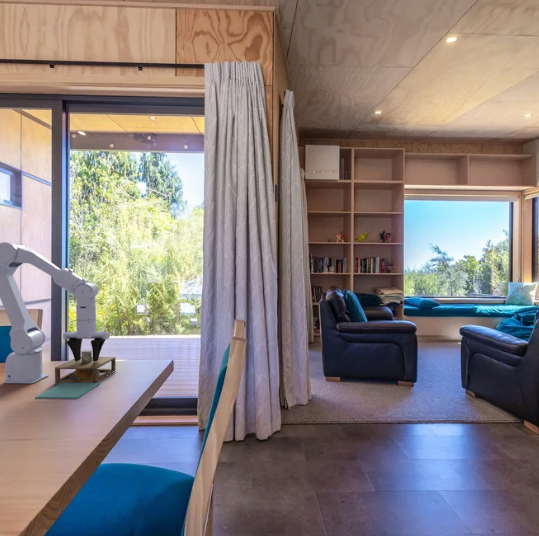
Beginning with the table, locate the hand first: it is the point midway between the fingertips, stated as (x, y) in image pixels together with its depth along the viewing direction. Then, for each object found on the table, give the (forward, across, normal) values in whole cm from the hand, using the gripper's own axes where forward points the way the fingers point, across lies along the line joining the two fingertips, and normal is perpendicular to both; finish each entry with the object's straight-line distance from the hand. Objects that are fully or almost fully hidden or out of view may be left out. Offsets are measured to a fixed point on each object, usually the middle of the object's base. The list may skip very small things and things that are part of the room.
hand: (86, 360), depth 119 cm
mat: (+5, +2, -13) cm, 14 cm away
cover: (+5, 0, 0) cm, 5 cm away
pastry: (+6, 0, 0) cm, 6 cm away
